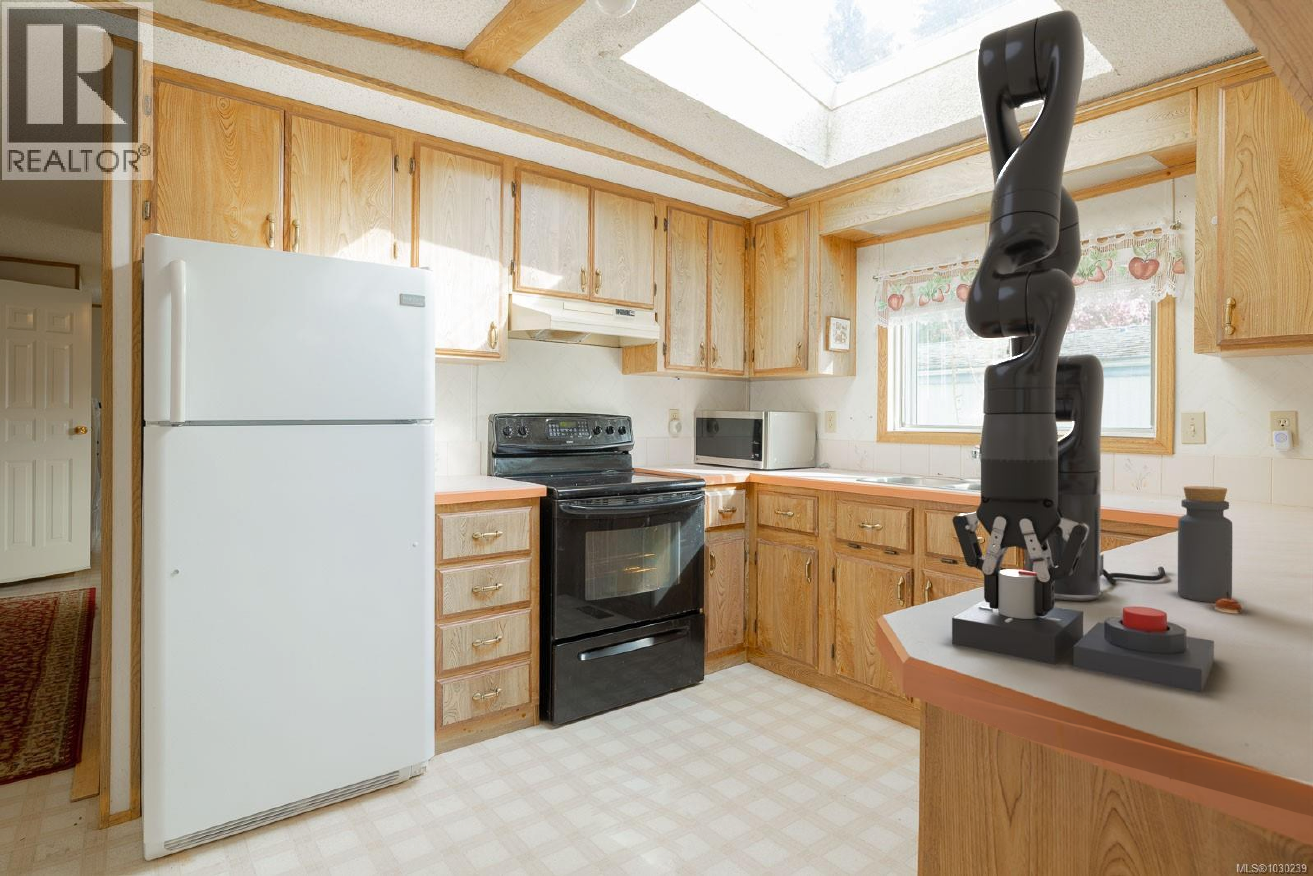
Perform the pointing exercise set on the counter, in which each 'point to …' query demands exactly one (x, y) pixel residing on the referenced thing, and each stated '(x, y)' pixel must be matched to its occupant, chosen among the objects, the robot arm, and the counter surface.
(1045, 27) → the robot arm
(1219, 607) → the reddish brown rounded piece
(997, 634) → the panel
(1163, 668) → the power block
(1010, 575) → the timer knob
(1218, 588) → the bottle
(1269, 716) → the counter surface
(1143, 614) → the power button
